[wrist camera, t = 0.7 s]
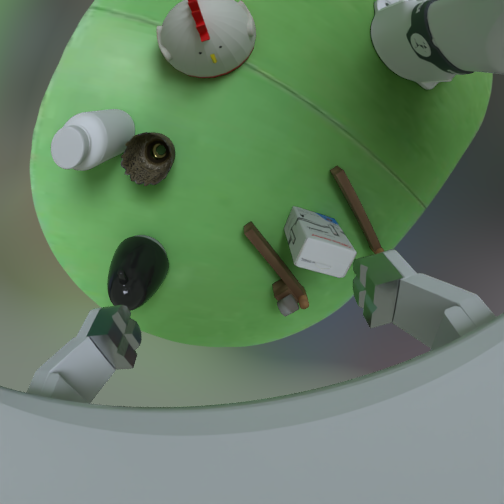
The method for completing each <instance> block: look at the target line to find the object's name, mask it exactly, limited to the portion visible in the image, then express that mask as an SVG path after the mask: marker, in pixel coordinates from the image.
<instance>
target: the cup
mask: <svg viewBox="0 0 504 504" xmlns="http://www.w3.org/2000/svg"><path fill="white" fill-rule="evenodd" d="M159 145H163V146H164V147H165V149H166V152H165V153H164V154H163V155H159V154H158V153H157V152H156V148H157V147H158V146H159ZM125 146H127V147H126V149H125V152H124V153H123V155H122V156H121V158H123V159H122V161H121V166H122V167H123V168H124V169H125V170H126V171H125V174H126V175H130V178H131V181H135V182H136V184H142V183H144V186H147V185H149V184H152V185H156V184H157V183H159V182H160V181H161V180H162V179H164V178H165V177H166V176H167V174H168V172H169V171H170V169H171V167H172V165H173V162H174V159H175V148H174V145H173V143H172V141H171V140H170V139H169V138H168V137H166V136H165V135H163V134H160V133H147V132H146V133H142V134H138V135H135V136H133V137H132V138H131V139H130V140H129V141H128V142H127V143H126V144H125Z"/></svg>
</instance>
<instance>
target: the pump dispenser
mask: <svg viewBox="0 0 504 504" xmlns="http://www.w3.org/2000/svg"><path fill="white" fill-rule="evenodd" d="M168 269H169V262H168V258H167V254H166V251H165V249H164V248H163V246H162V245H161V244H160V243H159V242H158V241H157V240H156V239H154V238H152V237H150V236H146V235H137V236H133V237H129V238H127V239H125V240H124V241H122V242H121V243H120V245H119V246H118V248H117V249H116V251H115V253H114V256H113V259H112V261H111V265H110V269H109V274H108V283H107V287H108V294H109V298H110V300H111V302H112V303H113V305H114V306H117V305H125V306H127V308H128V309H129V311H131V310H134V309H137V308H138V307H140V306H142V305H143V304H144V303H146V302H147V301H148V300H149V299H150V298H151V297H152V296H153V295H154V294H155V292H156V291H157V290H158V289H159V287H160V286H161V284H162V283H163V281H164V279H165V278H166V275H167V273H168Z"/></svg>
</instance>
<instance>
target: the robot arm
mask: <svg viewBox="0 0 504 504" xmlns="http://www.w3.org/2000/svg"><path fill="white" fill-rule="evenodd" d="M386 4H387V5H388V6H386ZM374 9H375V16H374V19H373V21H372V25H371V37H372V41H373V45H374V47H375V49H376V51H377V53H378V55H379V57H380V58H381V59H382V61H383V62H384V63H385V64H386V66H387V67H388V68H389V69H391V70H392V71H393V72H394V73H396V74H397V75H399V76H401V77H403V78H405V79H408V80H412V81H415V82H417V83H418V84H419V85H420V86H422V87H423V88H424V89H427V90H429V89H433V88H434V87H435V86H436V85H437V84H438V83H439V82H449V81H452V78H453V77H454V76H455V75H456V74H460V75H464V74H470V73H473V72H488V73H498V74H504V0H377V1H375V2H374ZM353 271H354V272H355V274H356V276H355V278H354V279H353V292H354V297H355V299H356V302H357V304H358V306H359V307H361V308H363V309H364V312H363V315H364V317H365V319H366V321H367V323H368V325H369V327H370V328H373V327H377V326H381V325H385V324H388V323H391V322H393V324H395V325H396V326H398V327H399V328H401V329H402V330H404V331H405V332H407V333H408V334H410V335H411V336H413V337H415V338H416V339H418V340H419V341H421V342H422V343H424V344H425V345H427V346H428V347H430V348H431V350H430V352H427V353H425V354H422V355H420V356H417V357H415V358H412V359H410V360H408V361H405V362H402V363H400V364H397V365H394V366H392V367H389V368H386V369H383V370H380V371H377V372H374V373H371V374H368V375H365V376H361V377H358V378H355V379H351V380H348V381H345V382H341V383H337V384H333V385H330V386H325V387H321V388H317V389H313V390H309V391H304V392H299V393H295V394H290V395H284V396H279V397H273V398H267V399H261V400H254V401H247V402H238V403H230V404H220V405H207V406H191V407H125V406H109V405H98V404H90V403H91V401H92V400H93V399H94V398H95V396H96V395H97V394H98V392H99V391H100V390H101V388H102V387H103V386H104V384H105V383H106V382H107V381H108V379H109V378H110V377H111V376H112V374H113V373H114V372H115V369H131V368H133V367H134V364H135V360H136V357H137V353H136V351H135V350H136V349H137V348H138V347H139V346H140V343H141V330H140V328H139V325H138V324H137V322H136V321H134V320H133V319H131V318H130V316H131V312H130V311H129V309H128V308H127V306H125V305H117V306H110V307H103V308H96V309H92V310H91V311H90V312H89V314H88V316H87V318H86V320H85V321H84V323H83V325H82V327H81V329H80V331H79V333H78V335H77V337H76V338H72V339H71V340H70V341H69V342H68V343H67V344H66V345H64V346H63V347H62V348H61V349H60V350H59V351H58V352H56V353H55V354H54V355H53V356H52V357H51V358H50V359H49V360H48V361H46V362H45V363H44V364H43V365H42V366H41V367H40V368H39V369H38V370H37V371H36V373H35V375H34V377H33V379H32V381H31V384H30V386H29V388H28V390H27V393H25V392H21V391H17V390H13V389H9V388H6V387H2V386H0V504H504V313H502V314H501V315H499V316H497V317H496V316H495V315H494V314H493V313H492V312H491V310H490V309H489V308H488V307H487V306H486V305H485V303H483V301H482V300H481V299H480V298H479V296H478V295H476V294H474V293H471V292H469V291H466V290H464V289H461V288H459V287H456V286H454V285H451V284H449V283H446V282H443V281H441V280H438V279H436V278H433V277H430V276H428V275H425V274H422V273H419V274H417V273H416V272H415V271H414V270H413V269H412V267H411V266H410V265H409V264H408V263H407V262H406V261H405V260H404V259H403V257H402V256H401V255H400V254H399V253H398V252H397V251H396V250H394V249H391V250H387V251H384V252H380V253H378V254H374V255H370V256H366V257H362V258H358V259H354V262H353Z"/></svg>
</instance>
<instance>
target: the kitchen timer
mask: <svg viewBox="0 0 504 504" xmlns="http://www.w3.org/2000/svg"><path fill="white" fill-rule="evenodd" d="M255 38H256V28H255V23H254V20H253V18H252V16H251V14H250V12H249V10H248V8H247V7H246V5H245V4H244V3H243V2H242V1H239V2H238V3H237V2H236V1H234V0H183V1H182V2H180V3H178V4H177V5H176V6H175V7H174V8H173V9H172V10H171V11H170V12H169V13H168V15H167V16H166V18H165V20H164V22H163V25H162V26H157V39H158V44H159V47H160V50H161V52H162V54H163V56H164V58H165V59H166V60H167V61H168V62H169V63H170V64H171V65H172V66H173V67H174V68H175V69H177V70H179V71H181V72H183V73H185V74H187V75H189V76H193V77H198V78H215V77H218V76H222V75H225V74H228V73H230V72H231V71H233V70H235V69H237V68H238V67H240V66H241V65H242V64H243V63H244V62H245V61H246V60H247V59H248V57H249V55H250V54H251V52H252V50H253V48H254V43H255Z"/></svg>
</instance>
